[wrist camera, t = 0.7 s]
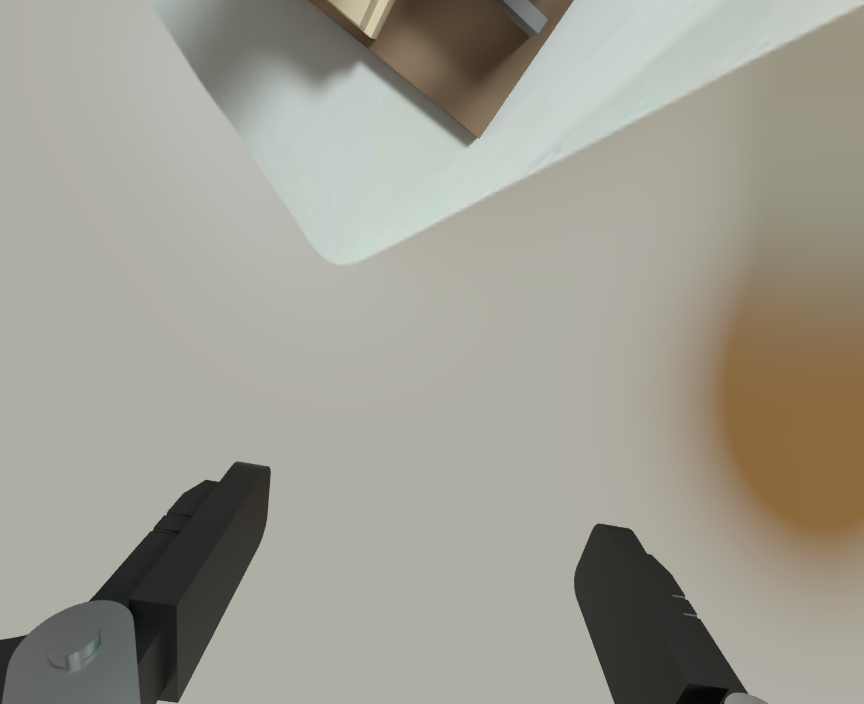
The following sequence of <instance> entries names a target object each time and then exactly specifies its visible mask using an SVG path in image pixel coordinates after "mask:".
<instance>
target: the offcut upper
mask: <svg viewBox="0 0 864 704" xmlns="http://www.w3.org/2000/svg"><path fill="white" fill-rule="evenodd" d="M328 1H330V2H331V3H332V4H333V5H335V6H336V7H337V8H338V9H339V10H341V11H342V12H343V13H344V14H345V15H347V16H348V17H349V18H350V19H351V20H353V21H354V22H355V23H356V24H358V25H359V26H361V27H364V28H366V27H367V25H368V23H369V21H370V19H371V16H372V14H373V12H374V10H375V8H376V6H377V3H378V1H379V0H328Z"/></svg>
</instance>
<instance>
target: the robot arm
mask: <svg viewBox="0 0 864 704" xmlns="http://www.w3.org/2000/svg"><path fill="white" fill-rule="evenodd" d="M270 475H271V471H270V467H268V466H262V465H256V464H250V463H244V462H235V463H234V464H233V465H232V466H231V468H230V469H229V470H228V471H227V473H226V474H225V476H224V477H223V478H222V479H221V481H220V482H216V481H210V480H205V481H203V482H202V483H200V484H198V485H197V486H195V487H193V488H192V489H190V490H188V491H187V492H185V493H184V494H183V495H182V496H181V497H180V498H179V499H178V500H177V501H176V503H175V504H174V505H173V506H172V507H171V508H170V509H169V511H168V512H167V515H166V516H165V515H164V516H163V517H162V519H161V520H160V521H159V522H158V523H157V524H156V526H155V527H154V529H153V531H151V532H150V533H149V534H148V535H147V536H146V537H145V538H144V539H143V541H142V542H141V543H140V544H139V545H138V546H137V547H136V548H135V550H134V551H133V552H132V553H131V554H130V555H129V557H128V558H127V559H126V560H125V561H124V562H123V563H122V565H121V566H120V567H119V568H118V569H117V570H116V571H115V573H114V574H113V575H112V576H111V577H110V579H108V581H107V582H106V583H105V584H104V585H103V586H102V587H101V589H100V590H99V591H98V592H97V593H96V594H95V596H93V598H91V600H90V601H89V602H85V603H82V604H78V605H75V606H72V607H70V608H67V609H65V610H63V611H61V612H59V613H57V614H55V615H53V616H52V617H50V618H48V619H47V620H45V621H44V622H43V623H41V624H40V625H39V626H37V627H36V628H35V629H34V630H33V631H31V632H30V633H29V634H28V635H25V636H20V637H15V638H10V639H3V640H0V704H156V702H157V701H158V700H161V701H168V702H176V703H178V702H179V700H180V698H181V696H182V694H183V692H184V690H185V688H186V686H187V684H188V682H189V680H190V679H191V677H192V674H193V673H194V671H195V669H196V667H197V665H198V663H199V661H200V659H201V657H202V655H203V653H204V651H205V649H206V648H207V645H208V644H209V642H210V640H211V638H212V636H213V634H214V632H215V630H216V628H217V626H218V624H219V622H220V620H221V618H222V616H223V614H224V613H225V611H226V609H227V607H228V605H229V603H230V601H231V599H232V597H233V595H234V593H235V591H236V589H237V587H238V585H239V584H240V581H241V580H242V578H243V576H244V573H245V572H246V570H247V568H248V566H249V564H250V562H251V560H252V558H253V556H254V554H255V552H256V551H257V548H258V547H259V544H260V542H261V539H262V537H263V534H264V530H265V526H266V522H267V512H268V500H269V488H270ZM574 587H575V594H576V598H577V601H578V603H579V606H580V609H581V612H582V615H583V617H584V620H585V623H586V626H587V628H588V631H589V634H590V637H591V639H592V642H593V645H594V648H595V650H596V653H597V656H598V659H599V662H600V664H601V667H602V670H603V673H604V675H605V678H606V681H607V684H608V686H609V689H610V692H611V695H612V697H613V700H614V703H615V704H768V703H766V702H765V701H763V700H761V699H759V698H757V697H755V696H752V695H749V694H748V693H747V691H746V690H745V688H744V687H743V685H742V683H741V682H740V680H739V679H738V677H737V676H736V674H735V673H734V671H733V669H732V668H731V666H730V665H729V663H728V662H727V660H726V659H725V657H724V656H723V654H722V652H721V651H720V649H719V648H718V646H717V645H716V643H715V642H714V640H713V638H712V637H711V635H710V634H709V632H708V631H707V629H706V627H705V626H704V624H703V623H702V621H701V620H700V619H698V618H697V614H696V612H695V610H694V609H693V607H692V606H691V604H690V603H689V601H688V600H686V599H685V595H684V593H683V592H682V590H681V589H680V587H679V585H678V584H677V582H676V581H675V579H674V578H673V576H672V575H671V574H670V572H669V571H668V570H667V569H666V568H664V566H662V565H661V564H660V563H659V562H658V561H657V560H656V559H655V558H654V557H653V556H652V555H650V554H647V553H646V552H645V550H644V548H643V547H642V545H641V543H640V542H639V540H638V538H637V537H636V535H635V534H634V532H633V531H632V530H630V529H628V528H623V527H617V526H611V525H605V524H597V525H595V526H594V528H593V530H592V532H591V534H590V537H589V539H588V542H587V544H586V546H585V549H584V551H583V553H582V556H581V558H580V561H579V563H578V565H577V568H576V571H575V577H574Z"/></svg>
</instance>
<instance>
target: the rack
mask: <svg viewBox="0 0 864 704" xmlns="http://www.w3.org/2000/svg"><path fill="white" fill-rule="evenodd" d="M310 1H311V2H312V3H313V4H314V5H316V6H317V7H318V8H319V9H321V10H322V11H323V12H324V13H325V14H327V15H328V16H329V17H330V18H332V19H333V20H334V21H335V22H337V23H338V24H339V25H340V26H341V27H343V28H344V29H345V30H346V31H348V32H349V33H350V34H351V35H352V36H354V37H355V38H356V39H357V40H359V41H360V42H361V43H362V44H364V45H365V46H366V47H367V48H368V49H370V50H371V51H372V52H373V53H375V54H376V55H377V56H378V57H380V58H381V59H382V60H383V61H384V62H386V63H387V64H388V65H389V66H391V67H392V68H393V69H394V70H395V71H397V72H398V73H399V74H400V75H402V76H403V77H404V78H405V79H407V80H408V81H409V82H410V83H411V84H413V85H414V86H415V87H416V88H418V89H419V90H420V91H421V92H422V93H424V94H425V95H426V96H427V97H429V98H430V99H431V100H432V101H434V102H435V103H436V104H437V105H438V106H440V107H441V108H442V109H443V110H445V111H446V112H447V113H448V114H450V115H451V116H452V117H453V118H454V119H456V120H457V121H458V122H459V123H461V124H462V125H463V126H464V127H465V128H467V129H468V130H469V131H470V132H472V133H473V134H474V135H475V136H477V137H478V138H480V137H481V135H482V134H483V132H484V131H485V129H486V128H487V126H488V125H489V124H490V122H491V121H492V119H493V118H494V116H495V115H496V113H497V112H498V110H499V109H500V107H501V106H502V105H503V103H504V102H505V100H506V99H507V97H508V96H509V94H510V93H511V91H512V90H513V88H514V87H515V85H516V84H517V83H518V81H519V80H520V78H521V77H522V75H523V74H524V72H525V71H526V69H527V68H528V66H529V65H530V64H531V62H532V61H533V59H534V58H535V56H536V55H537V53H538V52H539V50H540V49H541V47H542V46H543V44H544V43H545V42H546V40H547V39H548V37H549V36H550V34H551V33H552V31H553V30H554V28H555V27H556V25H557V24H558V23H559V21H560V20H561V18H562V17H563V15H564V14H565V12H566V11H567V9H568V8H569V6H570V5H571V3H572V2H573V1H574V0H395V2H394V4H393V6H392V8H391V10H390V12H389V14H388V16H387V19H386V21H385V23H384V25H383V27H382V29H381V31H380V33H379V35H378V37H377V39H373V38H370V37H369V36H368V35H367V34H365V33H364V32H363V31H362V30H361V29H359V28H358V27H357V26H356V25H355V24H353V23H352V22H351V21H350V20H348V19H347V18H346V17H345V16H344V15H342V14H341V13H340V12H339V11H338V10H336V9H335V8H334V7H333V6H331V5H330V4H329V3H328V2H327V1H325V0H310Z"/></svg>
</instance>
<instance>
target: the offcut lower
mask: <svg viewBox="0 0 864 704" xmlns="http://www.w3.org/2000/svg"><path fill="white" fill-rule="evenodd" d="M325 1H327V2H328V3H329V4H330V5H331V6H333V7H334V8H335V9H336V10H338V11H339V12H340V13H341V14H342V15H344V16H345V17H346V18H347V19H348V20H350V21H351V22H352V23H353V24H355V25H356V26H357V27H358V28H359V29H361V30H362V31H363V32H364V33H365V34H367V35H368V36H369V37H370V38H373V39H377V37H378V35H379V33H380V31H381V29H382V27H383V25H384V23H385V21H386V19H387V16H388V14H389V12H390V10H391V8H392V6H393V4H394V2H395V0H379V1H378V3H377V6H376V8H375V10H374V12H373V14H372V16H371V19H370V21H369V23H368V25H367V27H366V28H364V27H361V26H359V25H358V24H356V23H355V22H354V21H353V20H351V19H350V18H349V17H348V16H347V15H345V14H344V13H343V12H342V11H341V10H339V9H338V8H337V7H336V6H335V5H333V4H332V3H331V2H330V1H328V0H325Z"/></svg>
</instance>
